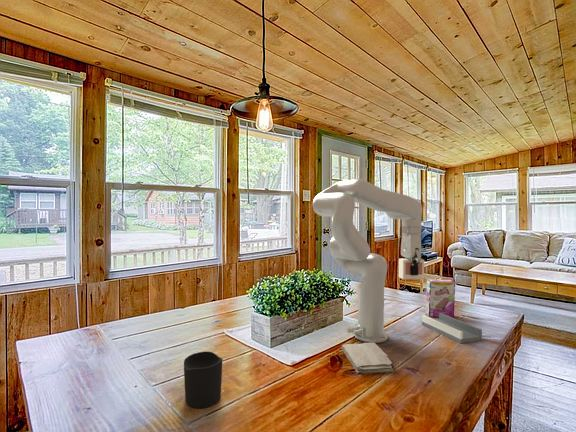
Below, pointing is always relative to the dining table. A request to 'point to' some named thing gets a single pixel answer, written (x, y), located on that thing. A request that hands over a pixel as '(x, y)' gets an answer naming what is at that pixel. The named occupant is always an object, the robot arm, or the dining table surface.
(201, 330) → the dining table surface
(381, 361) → the washcloth
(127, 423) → the dining table surface
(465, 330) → the shelf
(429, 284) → the candy bar box
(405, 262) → the product box
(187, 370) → the pen holder
